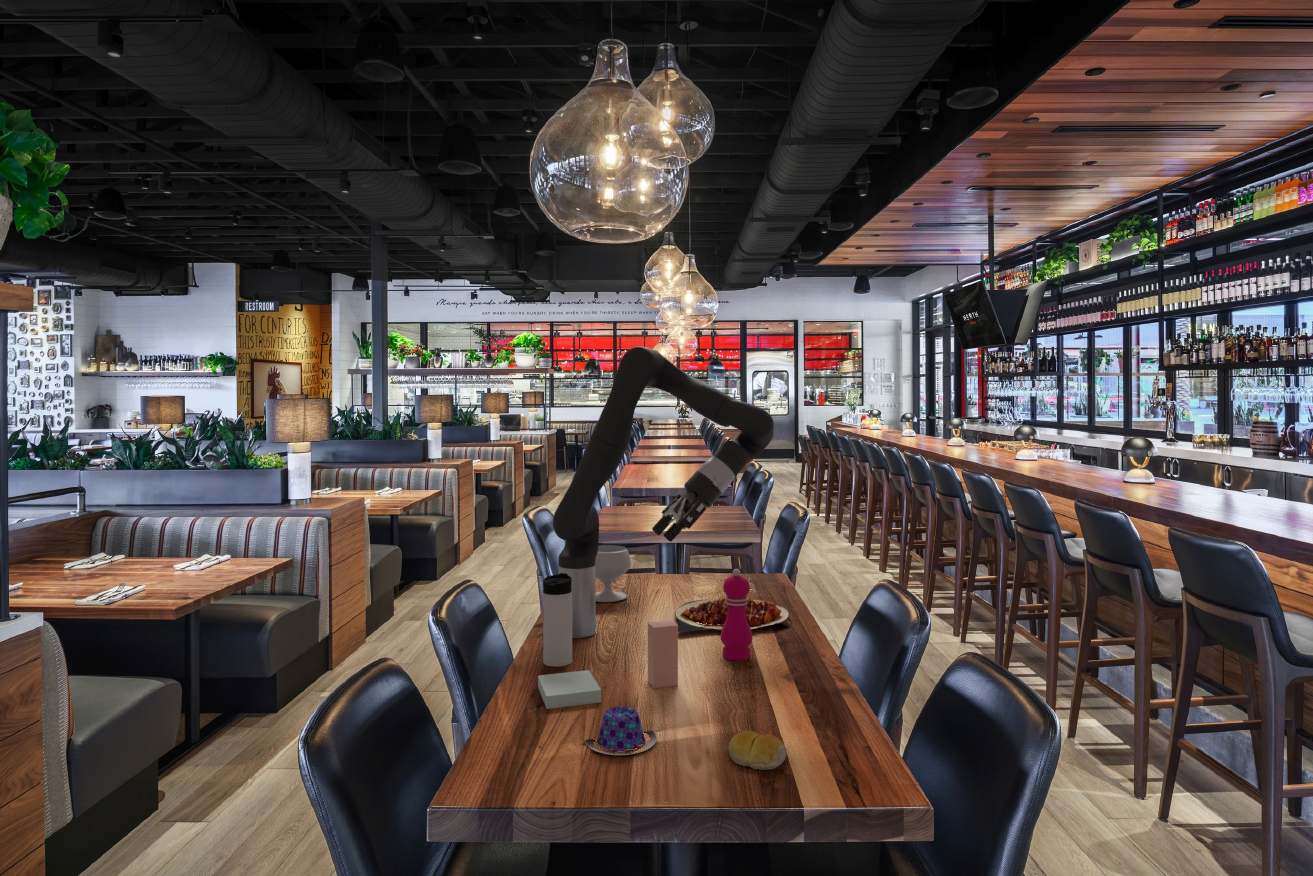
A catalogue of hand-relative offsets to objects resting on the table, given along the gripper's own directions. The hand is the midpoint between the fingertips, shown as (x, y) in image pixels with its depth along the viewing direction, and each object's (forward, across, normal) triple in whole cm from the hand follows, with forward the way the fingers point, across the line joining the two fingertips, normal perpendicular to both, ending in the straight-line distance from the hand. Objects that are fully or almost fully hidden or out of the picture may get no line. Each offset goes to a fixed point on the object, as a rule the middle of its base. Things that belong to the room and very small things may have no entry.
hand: (660, 535), depth 158 cm
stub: (+22, +14, +16) cm, 31 cm away
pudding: (+33, +33, +8) cm, 47 cm away
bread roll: (+19, +45, +22) cm, 54 cm away
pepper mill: (+8, -1, +33) cm, 34 cm away
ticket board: (+31, +14, +10) cm, 35 cm away
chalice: (+19, -61, +22) cm, 68 cm away
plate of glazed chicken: (0, -28, +41) cm, 50 cm away
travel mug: (+36, -6, +5) cm, 37 cm away
